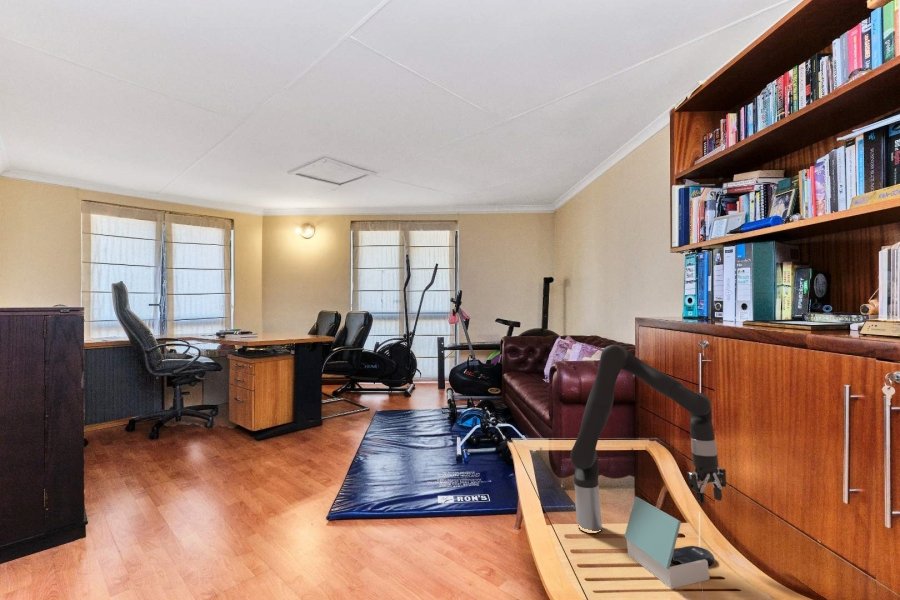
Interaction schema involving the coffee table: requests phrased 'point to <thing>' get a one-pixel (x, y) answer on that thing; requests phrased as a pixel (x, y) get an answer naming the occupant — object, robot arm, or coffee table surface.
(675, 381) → the robot arm
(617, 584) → the coffee table surface
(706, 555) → the electronic device
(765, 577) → the coffee table surface
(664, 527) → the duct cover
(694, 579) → the open box
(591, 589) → the coffee table surface
